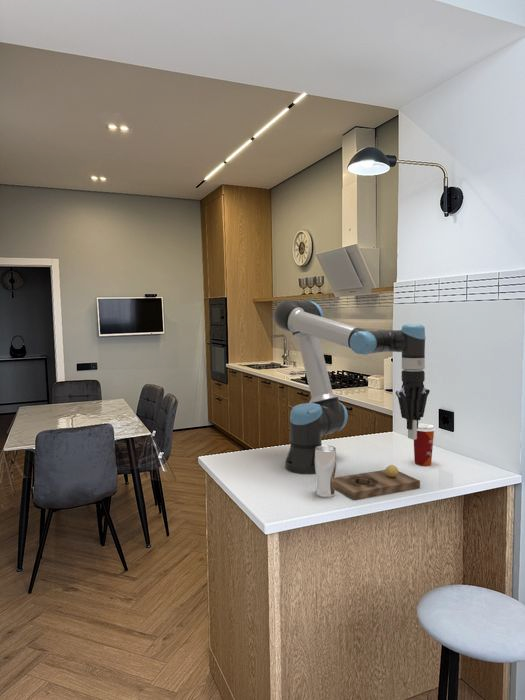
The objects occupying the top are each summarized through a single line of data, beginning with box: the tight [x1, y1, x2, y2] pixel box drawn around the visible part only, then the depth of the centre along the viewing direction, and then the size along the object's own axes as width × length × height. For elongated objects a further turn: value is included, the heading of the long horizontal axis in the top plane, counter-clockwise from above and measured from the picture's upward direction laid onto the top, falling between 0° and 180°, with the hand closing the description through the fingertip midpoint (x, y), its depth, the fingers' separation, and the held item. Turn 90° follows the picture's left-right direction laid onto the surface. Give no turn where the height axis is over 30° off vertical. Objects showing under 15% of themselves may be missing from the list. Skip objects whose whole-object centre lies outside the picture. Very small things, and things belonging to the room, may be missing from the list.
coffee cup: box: [413, 422, 436, 467], centre depth 188 cm, size 8×8×15 cm
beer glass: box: [314, 444, 337, 499], centre depth 156 cm, size 7×7×15 cm
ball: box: [385, 464, 399, 477], centre depth 166 cm, size 4×4×4 cm
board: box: [334, 469, 421, 501], centre depth 163 cm, size 26×14×2 cm, turn 114°
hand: (412, 438), depth 168 cm, fingers closed
